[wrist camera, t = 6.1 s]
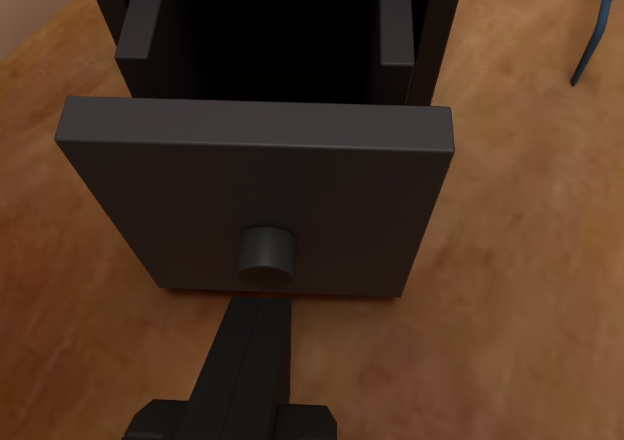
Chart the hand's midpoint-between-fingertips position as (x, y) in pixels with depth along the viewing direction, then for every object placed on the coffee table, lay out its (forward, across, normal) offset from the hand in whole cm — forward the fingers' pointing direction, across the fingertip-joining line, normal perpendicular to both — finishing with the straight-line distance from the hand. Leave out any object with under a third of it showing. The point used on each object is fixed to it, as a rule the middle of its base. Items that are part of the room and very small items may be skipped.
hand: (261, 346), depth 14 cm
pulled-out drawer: (+9, 0, +3) cm, 9 cm away
